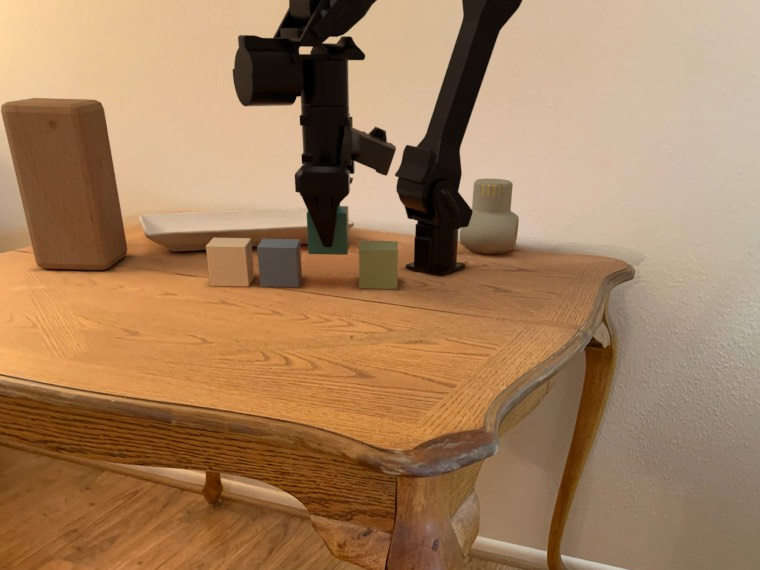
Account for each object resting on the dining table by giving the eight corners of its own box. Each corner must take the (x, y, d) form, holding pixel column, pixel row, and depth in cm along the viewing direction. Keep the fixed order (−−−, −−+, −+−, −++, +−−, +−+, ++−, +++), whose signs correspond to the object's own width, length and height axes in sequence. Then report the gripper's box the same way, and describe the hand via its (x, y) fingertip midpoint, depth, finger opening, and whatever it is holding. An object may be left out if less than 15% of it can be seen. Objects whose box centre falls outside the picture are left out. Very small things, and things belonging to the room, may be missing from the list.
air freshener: (466, 241, 126) (471, 174, 120) (517, 244, 125) (523, 177, 119) (457, 256, 117) (461, 185, 111) (511, 260, 116) (517, 188, 110)
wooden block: (107, 272, 105) (77, 104, 94) (34, 270, 105) (-5, 102, 94) (130, 255, 113) (105, 99, 102) (63, 253, 113) (30, 97, 102)
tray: (141, 234, 125) (137, 211, 123) (328, 225, 134) (327, 204, 132) (149, 258, 111) (145, 233, 110) (356, 246, 121) (355, 223, 119)
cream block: (254, 276, 104) (251, 238, 102) (248, 286, 100) (245, 246, 98) (217, 276, 104) (213, 237, 102) (210, 285, 100) (205, 245, 97)
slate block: (302, 277, 105) (300, 239, 102) (298, 287, 100) (296, 247, 98) (265, 277, 105) (262, 238, 102) (260, 286, 100) (256, 246, 98)
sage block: (396, 279, 105) (397, 241, 102) (397, 289, 101) (397, 249, 98) (360, 278, 105) (360, 240, 102) (359, 288, 101) (358, 248, 98)
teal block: (349, 246, 103) (348, 206, 100) (347, 254, 98) (346, 213, 96) (311, 245, 102) (309, 205, 100) (308, 254, 98) (306, 212, 96)
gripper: (392, 112, 84) (391, 260, 92) (392, 101, 99) (391, 228, 108) (290, 110, 83) (298, 259, 92) (306, 99, 99) (311, 227, 108)
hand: (329, 242), depth 100 cm, fingers closed on teal block, 5 cm apart
